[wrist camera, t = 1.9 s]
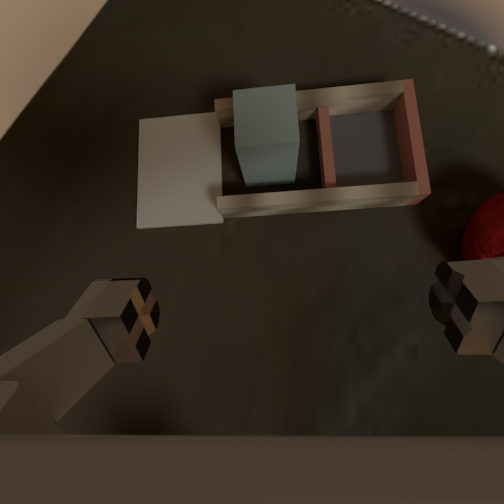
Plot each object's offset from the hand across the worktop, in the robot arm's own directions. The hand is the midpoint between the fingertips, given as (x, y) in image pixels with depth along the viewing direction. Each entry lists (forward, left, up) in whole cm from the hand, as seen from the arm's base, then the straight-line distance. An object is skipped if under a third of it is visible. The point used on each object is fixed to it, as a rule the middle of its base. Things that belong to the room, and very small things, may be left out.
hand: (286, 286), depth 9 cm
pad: (-10, +14, -20) cm, 27 cm away
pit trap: (+9, +14, -20) cm, 27 cm away
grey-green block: (0, +14, -21) cm, 25 cm away
